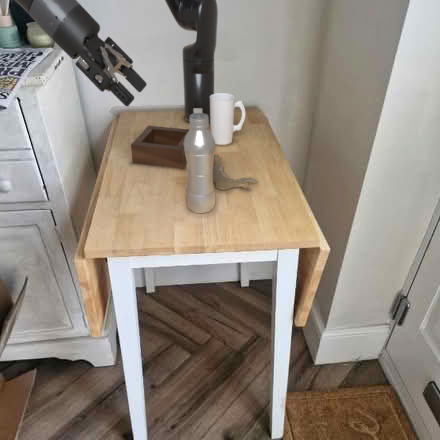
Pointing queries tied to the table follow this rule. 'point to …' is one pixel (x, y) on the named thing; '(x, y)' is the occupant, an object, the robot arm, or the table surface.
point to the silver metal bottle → (199, 164)
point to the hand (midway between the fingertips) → (137, 95)
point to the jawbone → (223, 181)
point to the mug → (224, 117)
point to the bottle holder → (160, 147)
